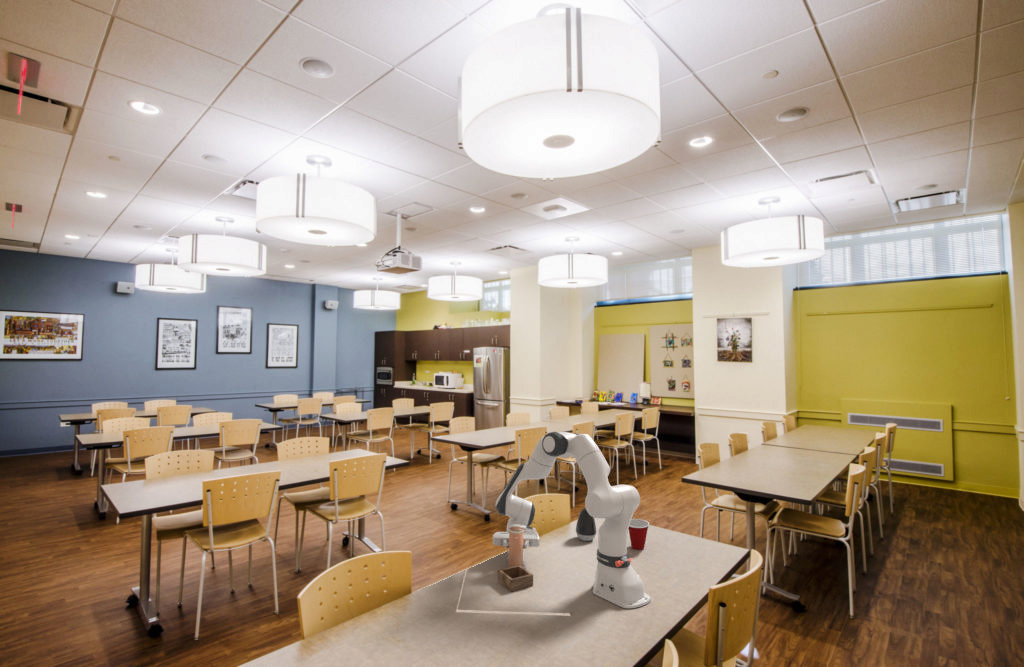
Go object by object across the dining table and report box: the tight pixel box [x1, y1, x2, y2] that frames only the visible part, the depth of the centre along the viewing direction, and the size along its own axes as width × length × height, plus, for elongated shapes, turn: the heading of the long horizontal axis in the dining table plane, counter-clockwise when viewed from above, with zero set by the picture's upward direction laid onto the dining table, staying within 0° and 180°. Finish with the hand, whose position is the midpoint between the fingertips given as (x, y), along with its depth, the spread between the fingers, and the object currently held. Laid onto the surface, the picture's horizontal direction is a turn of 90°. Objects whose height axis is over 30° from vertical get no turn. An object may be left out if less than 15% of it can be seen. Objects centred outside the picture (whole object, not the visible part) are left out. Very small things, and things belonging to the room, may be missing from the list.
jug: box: [507, 527, 524, 568], centre depth 197 cm, size 9×6×16 cm
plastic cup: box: [628, 518, 650, 551], centre depth 227 cm, size 11×11×12 cm
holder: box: [497, 565, 534, 593], centre depth 185 cm, size 10×10×5 cm
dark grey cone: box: [575, 506, 597, 542], centre depth 236 cm, size 10×10×15 cm
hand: (516, 546), depth 197 cm, fingers closed on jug, 6 cm apart
